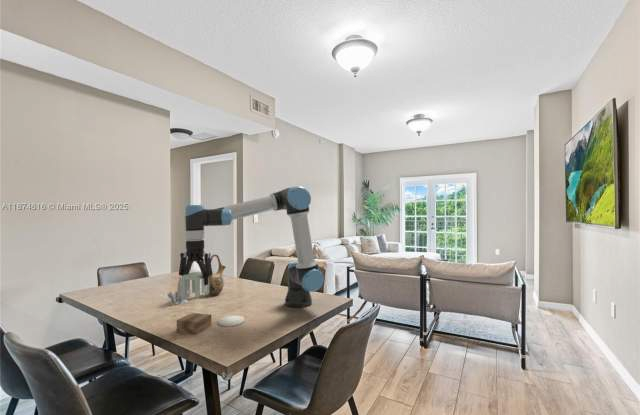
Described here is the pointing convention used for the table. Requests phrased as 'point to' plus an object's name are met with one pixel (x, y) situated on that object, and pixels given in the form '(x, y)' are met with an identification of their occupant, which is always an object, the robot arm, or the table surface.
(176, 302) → the crystal
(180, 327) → the walnut box
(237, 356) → the table surface
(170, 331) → the table surface
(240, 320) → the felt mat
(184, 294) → the stool
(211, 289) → the ceramic vessel
